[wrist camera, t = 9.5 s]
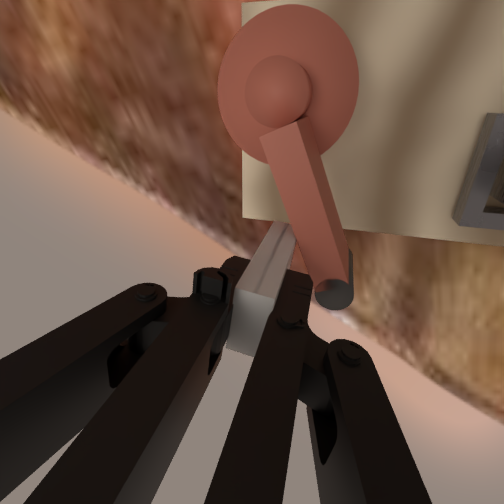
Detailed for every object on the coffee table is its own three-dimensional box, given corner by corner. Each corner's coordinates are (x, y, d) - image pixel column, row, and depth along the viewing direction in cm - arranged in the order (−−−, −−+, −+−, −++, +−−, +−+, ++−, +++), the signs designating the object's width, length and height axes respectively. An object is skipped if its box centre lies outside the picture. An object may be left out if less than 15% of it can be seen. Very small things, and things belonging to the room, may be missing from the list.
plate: (720, -23, 14) (885, -76, 10) (572, 247, 20) (631, 287, 16) (247, 7, 20) (218, -18, 15) (246, 212, 26) (226, 235, 22)
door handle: (208, 55, 16) (150, 38, 12) (335, -20, 14) (328, -84, 9) (290, 269, 21) (273, 320, 16) (400, 245, 18) (418, 297, 13)
